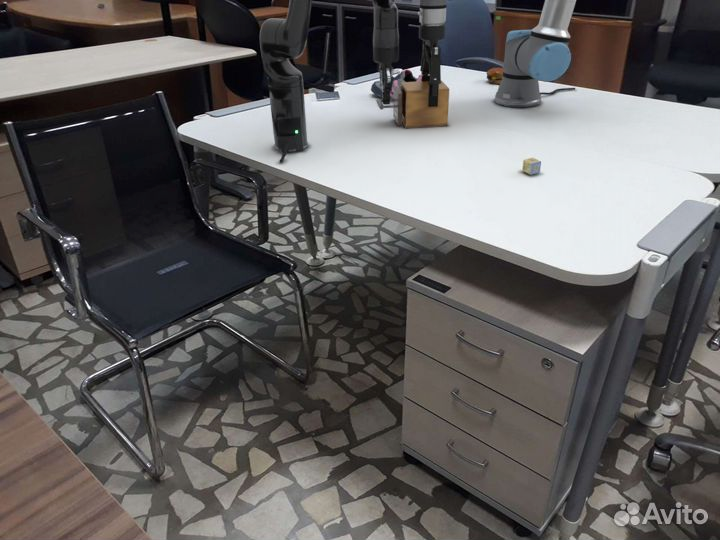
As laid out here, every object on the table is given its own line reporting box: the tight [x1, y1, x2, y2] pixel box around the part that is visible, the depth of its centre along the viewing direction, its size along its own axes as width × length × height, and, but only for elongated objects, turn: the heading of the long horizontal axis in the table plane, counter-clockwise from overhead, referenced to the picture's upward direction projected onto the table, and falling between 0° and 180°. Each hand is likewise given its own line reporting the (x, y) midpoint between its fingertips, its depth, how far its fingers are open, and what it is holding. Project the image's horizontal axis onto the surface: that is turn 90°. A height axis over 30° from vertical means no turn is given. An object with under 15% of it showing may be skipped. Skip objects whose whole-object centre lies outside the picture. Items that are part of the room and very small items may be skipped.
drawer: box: [375, 86, 406, 126], centre depth 174 cm, size 17×10×9 cm, turn 96°
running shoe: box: [370, 69, 423, 99], centre depth 198 cm, size 9×26×11 cm, turn 44°
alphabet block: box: [522, 157, 542, 175], centre depth 139 cm, size 3×3×3 cm
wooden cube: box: [401, 80, 450, 129], centre depth 175 cm, size 13×11×11 cm
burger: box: [486, 67, 504, 85], centre depth 219 cm, size 10×9×5 cm
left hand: (386, 103), depth 174 cm, fingers closed
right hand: (429, 101), depth 175 cm, fingers closed on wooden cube, 11 cm apart
